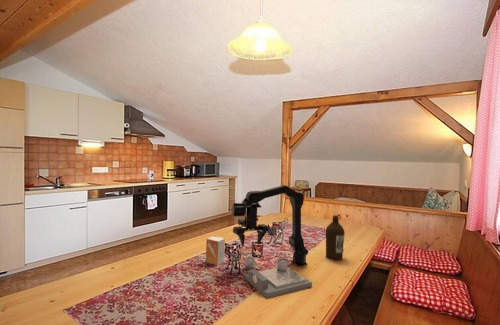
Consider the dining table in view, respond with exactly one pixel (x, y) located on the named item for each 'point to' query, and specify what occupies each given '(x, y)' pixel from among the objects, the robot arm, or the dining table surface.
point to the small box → (215, 250)
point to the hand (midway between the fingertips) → (250, 245)
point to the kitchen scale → (276, 281)
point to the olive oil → (334, 240)
